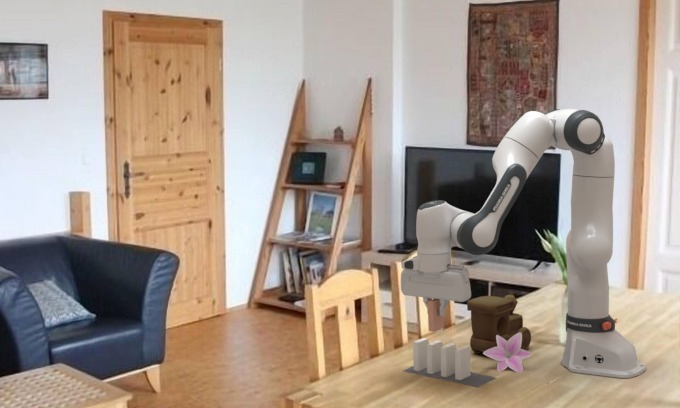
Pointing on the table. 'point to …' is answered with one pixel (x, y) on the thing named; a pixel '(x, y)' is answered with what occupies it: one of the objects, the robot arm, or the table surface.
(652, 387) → the table surface
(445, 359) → the domino
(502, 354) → the lily
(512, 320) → the wooden toy train
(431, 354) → the domino
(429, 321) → the domino
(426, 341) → the domino
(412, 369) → the domino mat
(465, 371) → the domino
